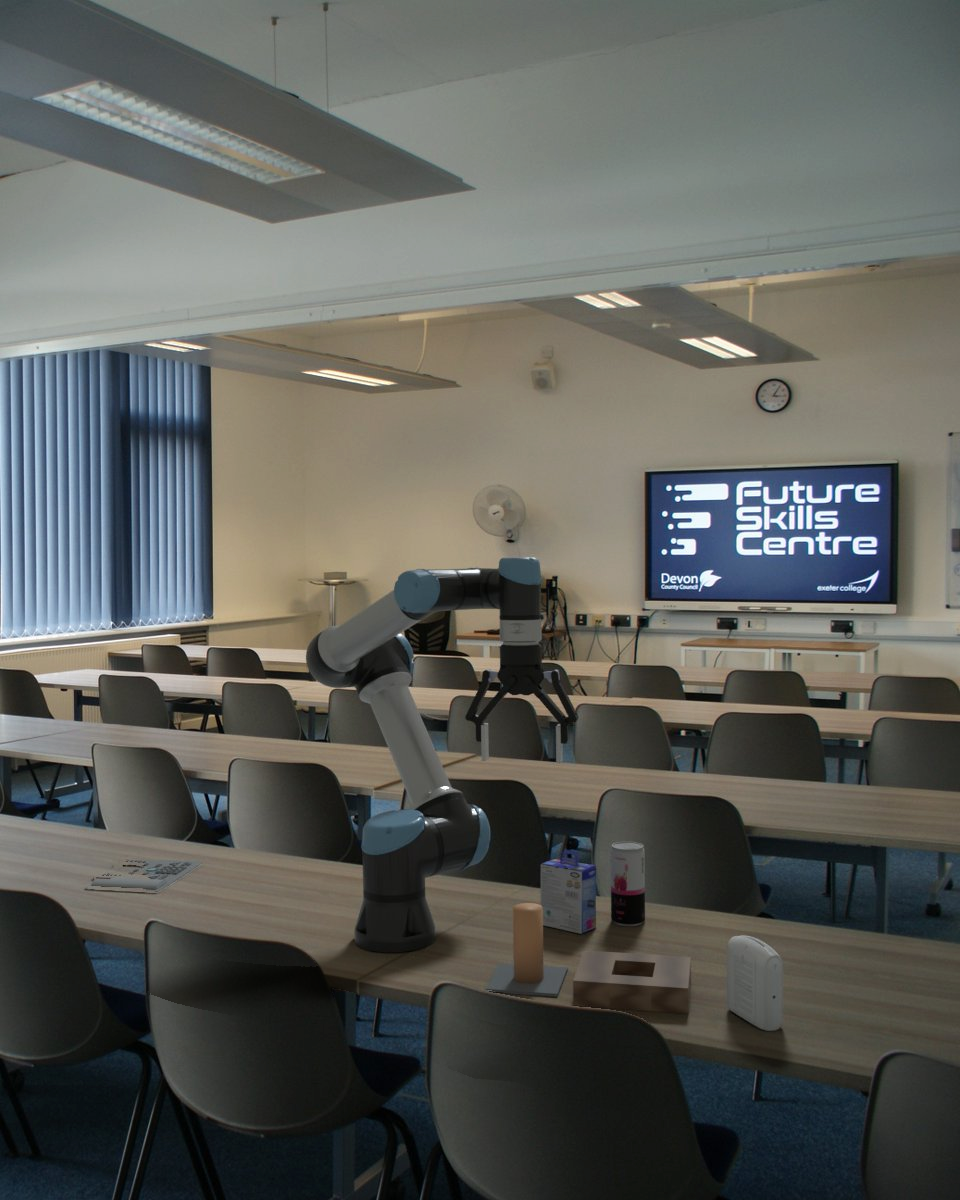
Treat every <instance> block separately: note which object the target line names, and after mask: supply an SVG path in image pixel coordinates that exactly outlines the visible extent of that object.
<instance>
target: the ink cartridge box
mask: <svg viewBox="0 0 960 1200" xmlns="http://www.w3.org/2000/svg"><path fill="white" fill-rule="evenodd" d="M580 854H581V852H580V851H576V850H572V849H564V850H563V852H562V856H561V858H560V859H558V858H557V859H556V858H554V859H551V860H547V861H545V862H542V863H541V864H540V905H541V906H542V907H543V927H550V928H554V929H558V930H562V931H567V932H570V933H575V934H580V935H582V934H584V933H588V932H589V931H591V930H595V929H596V928H597V896H596V895H597V873H596V872H597V866H596V865H594V864H588V863H582V862H581V863H580V862H579V858H580ZM566 855H573V856H574V857H575V858H571V857H566Z"/></svg>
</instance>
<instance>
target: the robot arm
mask: <svg viewBox="0 0 960 1200" xmlns="http://www.w3.org/2000/svg"><path fill="white" fill-rule="evenodd" d="M542 582H543V581H542V573H541V563H540V560H539V559H538V558H536V557H533V556H530V557H529V556H528V557H526V556H525V557H522V556H521V557H501V558H500V559H499V561H498V567H497V568H482V567H469V568H450V569H448V568H447V569H441V568H440V569H439V568H438V569H437V568H435V569H426V568H416V569H412V570H406V571H403V572H402V573H401V574H399V575H398V577H397V580H396V581H395V582H394V586H393V590H392V591H390V592H388V593H387V594H385V595H384V596H382V597H380V598H379V599H378V600H377V601H375V602H373V603H371V604H370V605H369V606H367V607H366V608H364V609H362V610H361V611H359V612H358V613H357V614H355V615H353V617H351V618H349V619H347V620H346V621H345V622H343V623H342V624H340V625H331V626H328V627H326V628H325V629H324V630H322V631H321V632H319V633H318V634H316V635H315V636H314V637H313V638H312V639H311V641H310V642H309V644H308V646H307V650H306V653H305V654H306V655H305V663H306V666H307V669H308V671H309V673H310V674H311V676H312V677H313V678H314V679H315V681H317V682H319V683H320V684H321V685H323V686H326V687H328V688H333V689H344V688H355V690H356V693H357V695H358V698H359V699H360V701H361V702H363V703H365V704H369V705H370V707H371V710H372V712H373V714H374V717H375V719H376V721H377V724H378V725H379V730H380V731H381V733H382V736H383V738H384V741H385V743H386V745H387V748H388V750H389V752H390V755H391V757H392V760H393V763H394V765H395V766H396V769H397V772H398V774H399V776H400V779H401V782H402V785H403V786H404V789H405V792H406V794H407V796H408V798H409V800H410V804H411V809H410V808H409V809H407V808H403V809H398V810H395V809H393V810H388V811H384V812H381V813H378V814H376V815H374V816H372V817H370V818H368V819H367V821H365V823H364V825H363V828H362V838H361V839H362V840H361V847H360V848H361V850H362V889H363V891H362V893H363V895H362V896H363V897H362V899H363V900H362V904H361V906H360V910H359V913H358V915H357V920H356V923H355V926H354V942H355V944H356V946H358V947H360V948H361V949H364V950H367V951H372V952H376V953H377V952H378V953H403V952H409V951H410V952H411V951H416V950H419V949H423V948H425V947H427V946H430V945H431V944H432V943H434V941H435V940H436V924H435V921H434V918H433V916H432V912H431V909H430V908H429V907H430V906H429V904H428V900H427V898H426V879H427V878H430V877H433V876H437V875H442V874H445V873H450V872H453V871H454V872H455V871H457V870H459V871H462V870H465V869H467V868H469V867H471V866H474V865H477V864H479V863H480V862H482V861H483V859H484V858H485V856H486V854H487V853H488V851H489V848H490V842H491V827H490V822H489V819H488V817H487V815H486V813H485V812H484V810H483V809H482V808H481V807H478V806H477V805H475V804H468V803H467V801H466V798H465V796H464V793H463V791H461V790H458V789H456V788H453V787H452V784H451V783H450V780H449V778H448V776H447V773H446V771H445V769H444V767H443V764H442V762H441V760H440V757H439V755H438V752H437V750H436V748H435V746H434V744H433V741H432V739H431V736H430V735H429V732H428V730H427V728H426V725H425V724H424V723H425V722H424V721H423V720H424V719H422V717H421V714H420V711H419V709H418V707H417V705H416V702H415V700H414V698H413V696H412V693H411V691H410V688H409V687H410V684H411V682H412V679H413V677H412V674H413V672H414V668H415V667H414V666H415V662H414V661H413V659H415V656H414V655H415V654H414V651H413V647H412V645H411V644H410V642H409V640H408V638H407V637H406V636H404V635H403V632H405V631H406V630H408V629H409V628H411V627H412V626H414V625H417V624H418V623H419V622H421V621H422V620H425V619H426V618H428V617H429V616H431V615H432V614H435V613H437V612H447V611H463V610H464V611H465V610H467V611H468V610H488V609H489V610H499V617H498V619H499V640H500V642H502V644H501V645H500V646H499V670H491V668H490V669H489V668H486V669H485V670H483V671H482V673H481V674H482V675H481V683H480V684H479V687H478V690H477V692H476V694H475V695H474V698H473V700H472V702H471V704H470V705H469V707H468V710H467V712H466V714H465V718H464V719H465V720H466V721H467V722H469V721H470V722H472V723H474V725H475V741H476V742H478V743H480V742H481V745H480V746H481V762H486V761H488V760H489V759H490V757H489V754H490V752H489V751H490V750H489V744H490V742H489V740H490V739H489V723H488V722H485V721H486V719H487V718H488V717H489V716H490V714H492V712H493V711H494V710H495V709H496V707H497V706H498V705H499V703H500V702H501V701H502V700H503V699H504V698H505V696H507V694H509V695H511V696H518V695H522V696H530V695H531V696H532V694H534V696H535V697H536V698H537V699H538V700H539V701H540V703H542V704H543V706H544V707H545V708H546V709H547V711H549V713H550V714H551V715H552V716H553V717H554V719H555V720H556V721H557V722H558V724H557V725H556V726H555V745H556V746H555V749H556V751H555V752H556V754H555V757H556V760H555V762H556V763H557V764H561V763H563V760H564V758H563V756H564V755H563V754H564V753H563V750H564V748H563V746H564V744H566V745H567V743H568V741H569V725H571V724H575V723H576V722H577V721H578V720H579V715H578V713H577V711H576V709H575V707H574V705H573V703H572V700H571V699H570V697H569V696H568V695H569V694H567V691H566V689H565V687H564V684H563V683H562V681H561V673H560V672H561V671H560V669H554V670H549V671H544V669H543V658H542V657H543V653H542V652H543V651H542V650H543V647H542V645H541V644H540V643H539V642H541V641H542V639H543V638H542V630H543V629H542ZM496 678H497V679H498V680H499V682H500V683H501V685H502V687H500V688H499V690H498V691H497V692H496V694H495V695H494V696H493V697H492V699H491V700H490V701H489V703H488V704H487V705H486V706H485V707H484V708H483V709H482V711H481V712H480V714H477V713H478V710H479V708H480V706H481V704H482V702H483V700H484V698H485V696H486V693H488V690H489V687H490V686H491V685H490V684H491V683H493V682H494V681H495V679H496ZM544 679H546V680H547V681H548V682H549V684H552V686H553V689H554V691H555V693H556V695H557V697H558V700H559V701H560V703H561V705H562V707H563V709H564V711H565V712H566V714H567V715H566V714H565V713H564V712H563V711H562V710H561V709H560V707H559V706H558V705H557V704H556V703H555V702H554V701H553V700H552V698H551V697H550V695H548V694H547V692H546V690H545V689H544V688H543V687H542V686H541V684H542V682H543V681H544Z"/></svg>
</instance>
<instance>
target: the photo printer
mask: <svg viewBox="0 0 960 1200" xmlns="http://www.w3.org/2000/svg"><path fill="white" fill-rule="evenodd" d="M726 1006H727V1009H728V1010H730V1011H731V1012H732V1013H734V1014H736V1016H739V1017H740V1018H742V1019H743V1020H745V1021H746V1022H748V1023H750V1024H751V1025H753V1026H755V1027H756V1028H758V1029H761V1030H764V1031H766V1032H774V1031H777V1030H779V1029H780V1028H781V1027H782V1025H783V1019H784V962H783V960H782V958H781V956H780V955H779V954H778V952H777V951H776V950H775V949H774V948H772V947H771V946H770V945H769V944H767V943H765V942H764V941H762V940H761V939H759V938H756V937H753V936H749V935H745V934H744V935H735V936H732V937H731V938H730V939H729V940H728V943H727V947H726Z"/></svg>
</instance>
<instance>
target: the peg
mask: <svg viewBox="0 0 960 1200" xmlns="http://www.w3.org/2000/svg"><path fill="white" fill-rule="evenodd" d="M512 931H513V932H512V934H513V938H512V939H513V940H512V941H513V943H512V944H513V947H512V948H513V949H512V950H513V964H514V980H516V981H517V982H520V983H527V984H530V983H537V982H540V981H542V980H543V978H544V975H543V966H544V925H543V907H542V906H541V904H539V903H535V902H523V903H522V902H521V903H517V904H515V905H513V906H512Z"/></svg>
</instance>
